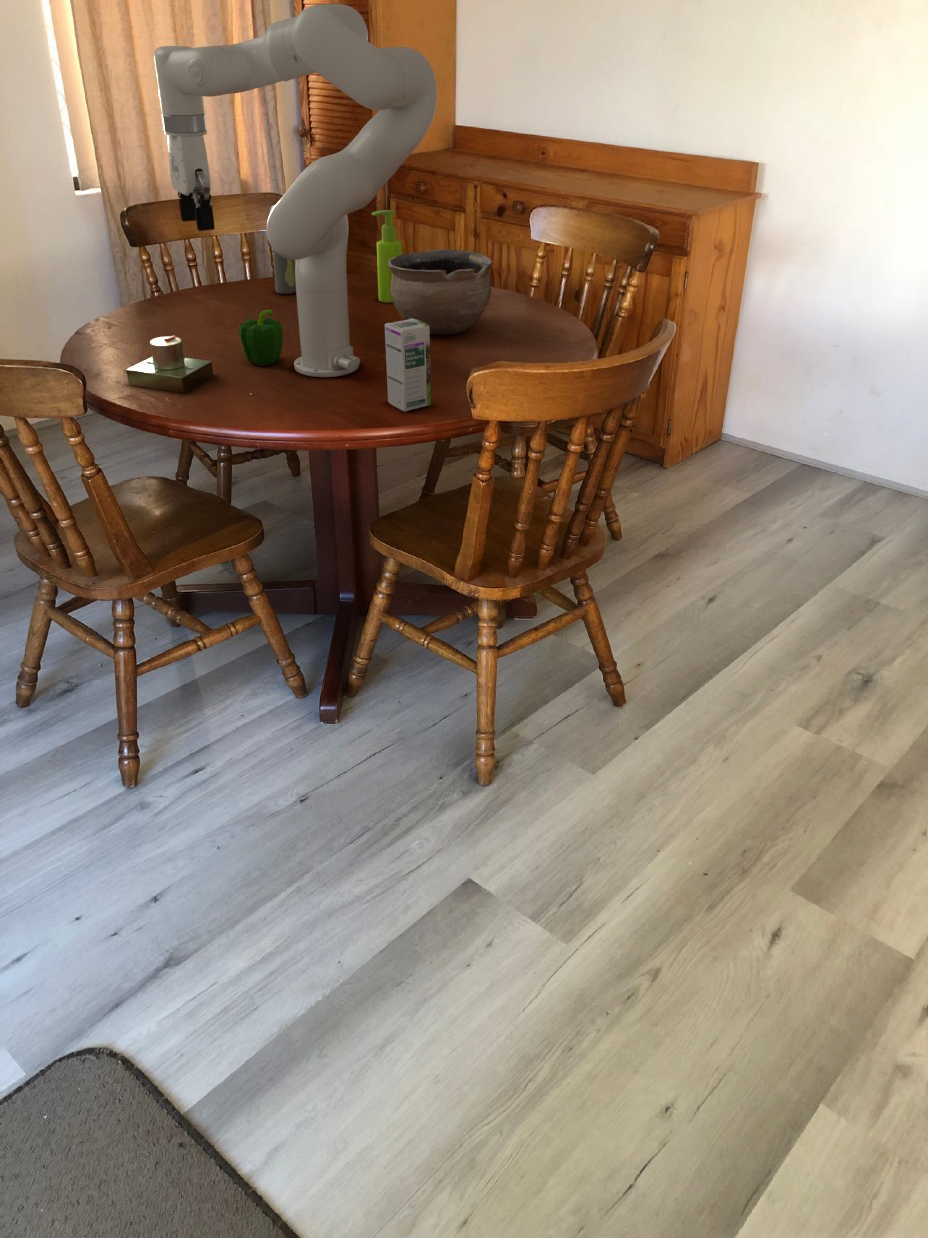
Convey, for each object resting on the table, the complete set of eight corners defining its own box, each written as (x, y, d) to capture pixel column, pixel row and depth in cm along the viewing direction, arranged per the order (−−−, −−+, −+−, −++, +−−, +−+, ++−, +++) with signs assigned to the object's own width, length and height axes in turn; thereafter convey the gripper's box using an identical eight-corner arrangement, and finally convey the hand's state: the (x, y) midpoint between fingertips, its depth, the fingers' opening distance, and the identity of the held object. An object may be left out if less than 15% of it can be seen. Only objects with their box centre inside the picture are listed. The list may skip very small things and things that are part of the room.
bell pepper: (245, 370, 188) (239, 318, 183) (240, 357, 195) (235, 307, 189) (288, 367, 190) (283, 315, 185) (282, 354, 197) (278, 304, 191)
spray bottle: (271, 292, 236) (263, 204, 226) (286, 288, 240) (278, 201, 229) (285, 295, 234) (278, 207, 223) (300, 291, 237) (293, 204, 226)
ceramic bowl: (430, 351, 199) (430, 276, 191) (370, 326, 213) (367, 255, 205) (511, 332, 211) (513, 260, 203) (448, 310, 225) (449, 242, 217)
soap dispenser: (371, 297, 233) (367, 209, 222) (397, 295, 236) (395, 207, 225) (379, 304, 229) (376, 213, 218) (406, 301, 231) (405, 211, 220)
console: (213, 376, 185) (211, 360, 183) (184, 393, 177) (181, 376, 175) (160, 368, 188) (157, 352, 187) (128, 385, 180) (125, 368, 179)
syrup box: (404, 412, 170) (402, 329, 162) (386, 402, 174) (384, 321, 166) (431, 406, 173) (430, 324, 165) (413, 396, 177) (411, 316, 169)
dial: (173, 371, 178) (169, 345, 175) (147, 367, 180) (143, 341, 177) (190, 362, 182) (187, 336, 180) (165, 358, 184) (161, 333, 181)
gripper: (150, 120, 180) (165, 218, 189) (178, 131, 168) (192, 235, 177) (190, 119, 183) (202, 215, 193) (220, 129, 171) (232, 231, 180)
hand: (197, 224), depth 185 cm, fingers open, 9 cm apart
